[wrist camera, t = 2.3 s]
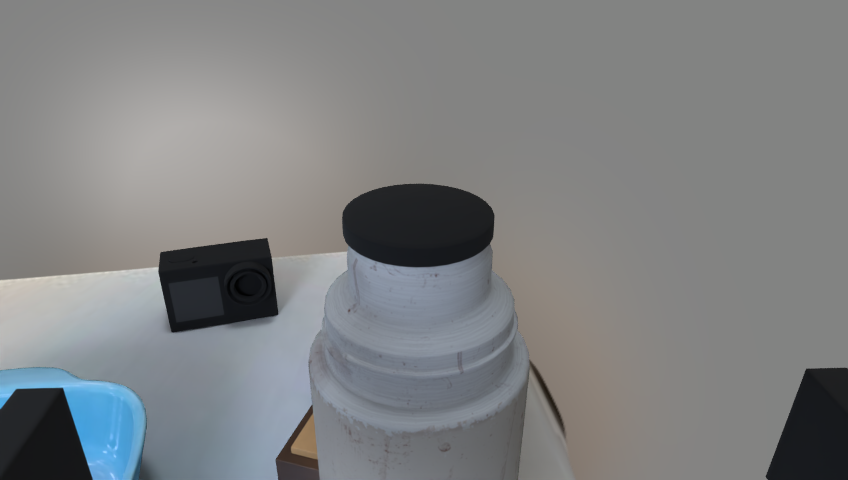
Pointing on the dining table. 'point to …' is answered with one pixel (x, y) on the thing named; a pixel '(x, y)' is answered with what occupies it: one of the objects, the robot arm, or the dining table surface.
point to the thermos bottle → (419, 345)
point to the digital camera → (218, 284)
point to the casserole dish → (93, 418)
